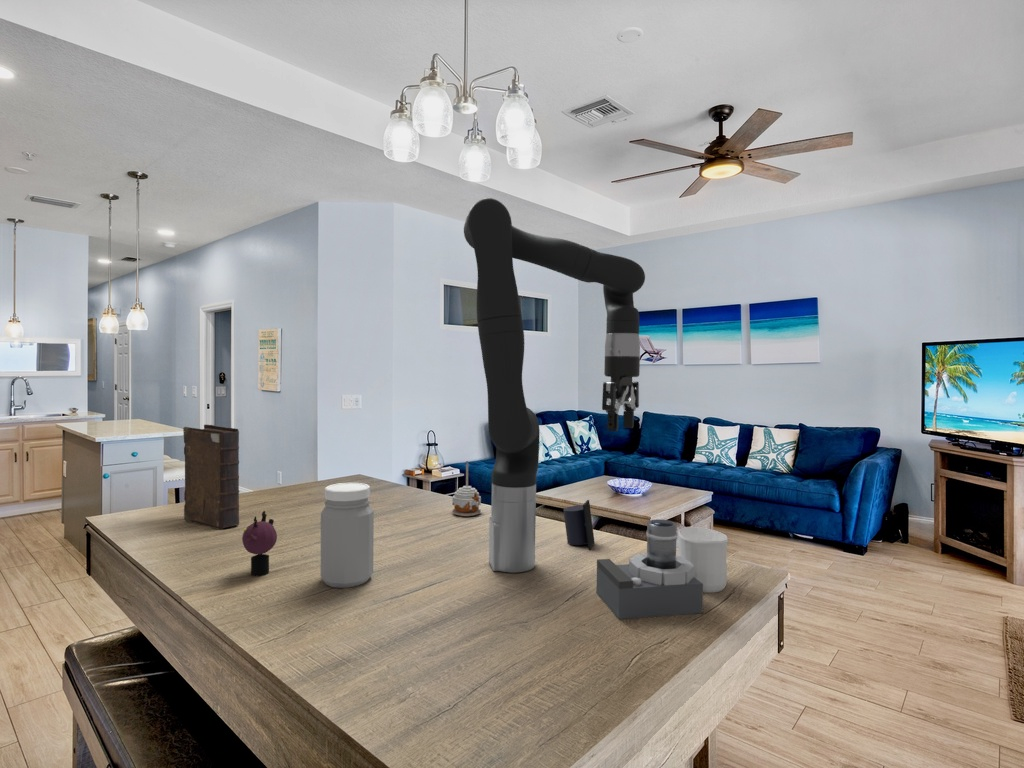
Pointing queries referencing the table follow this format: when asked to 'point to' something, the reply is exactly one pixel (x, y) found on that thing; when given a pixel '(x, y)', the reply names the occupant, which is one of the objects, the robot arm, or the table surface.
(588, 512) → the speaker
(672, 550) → the lens
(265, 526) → the figurine
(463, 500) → the decorative ornament
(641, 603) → the camera body
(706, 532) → the cup
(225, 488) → the book
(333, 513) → the jar
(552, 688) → the table surface
